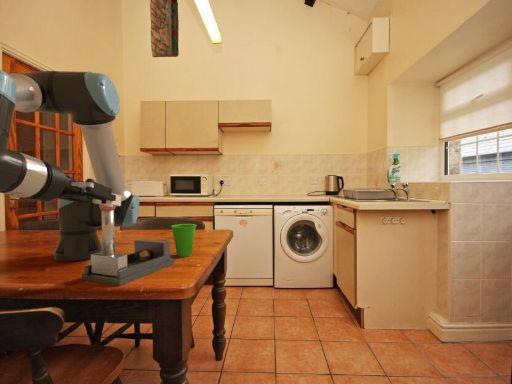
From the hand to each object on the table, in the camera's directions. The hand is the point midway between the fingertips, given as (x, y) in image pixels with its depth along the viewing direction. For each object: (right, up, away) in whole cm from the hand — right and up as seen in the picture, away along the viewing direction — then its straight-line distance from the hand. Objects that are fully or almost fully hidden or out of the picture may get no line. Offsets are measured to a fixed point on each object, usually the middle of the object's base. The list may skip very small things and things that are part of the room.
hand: (115, 201), depth 75 cm
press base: (0, -21, +10) cm, 23 cm away
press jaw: (-3, -20, +2) cm, 20 cm away
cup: (+11, -21, +28) cm, 36 cm away
